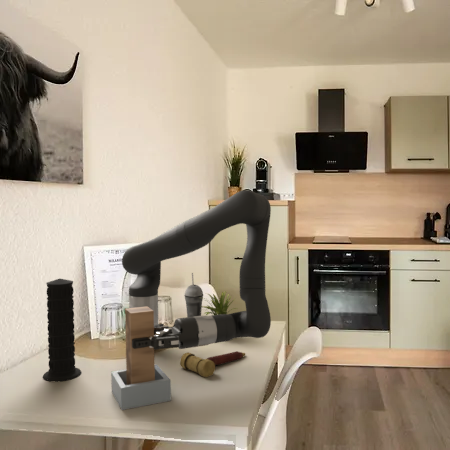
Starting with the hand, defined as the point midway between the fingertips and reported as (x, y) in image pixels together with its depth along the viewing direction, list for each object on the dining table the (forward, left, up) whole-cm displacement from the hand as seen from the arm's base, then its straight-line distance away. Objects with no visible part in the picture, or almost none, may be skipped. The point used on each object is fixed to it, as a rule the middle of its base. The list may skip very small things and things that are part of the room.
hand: (129, 340), depth 111 cm
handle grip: (-27, -1, -14) cm, 30 cm away
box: (+1, +2, -14) cm, 14 cm away
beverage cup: (-32, +59, -14) cm, 69 cm away
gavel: (+3, +31, -15) cm, 34 cm away
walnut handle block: (+1, +2, -13) cm, 13 cm away
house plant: (-15, +53, -14) cm, 57 cm away
